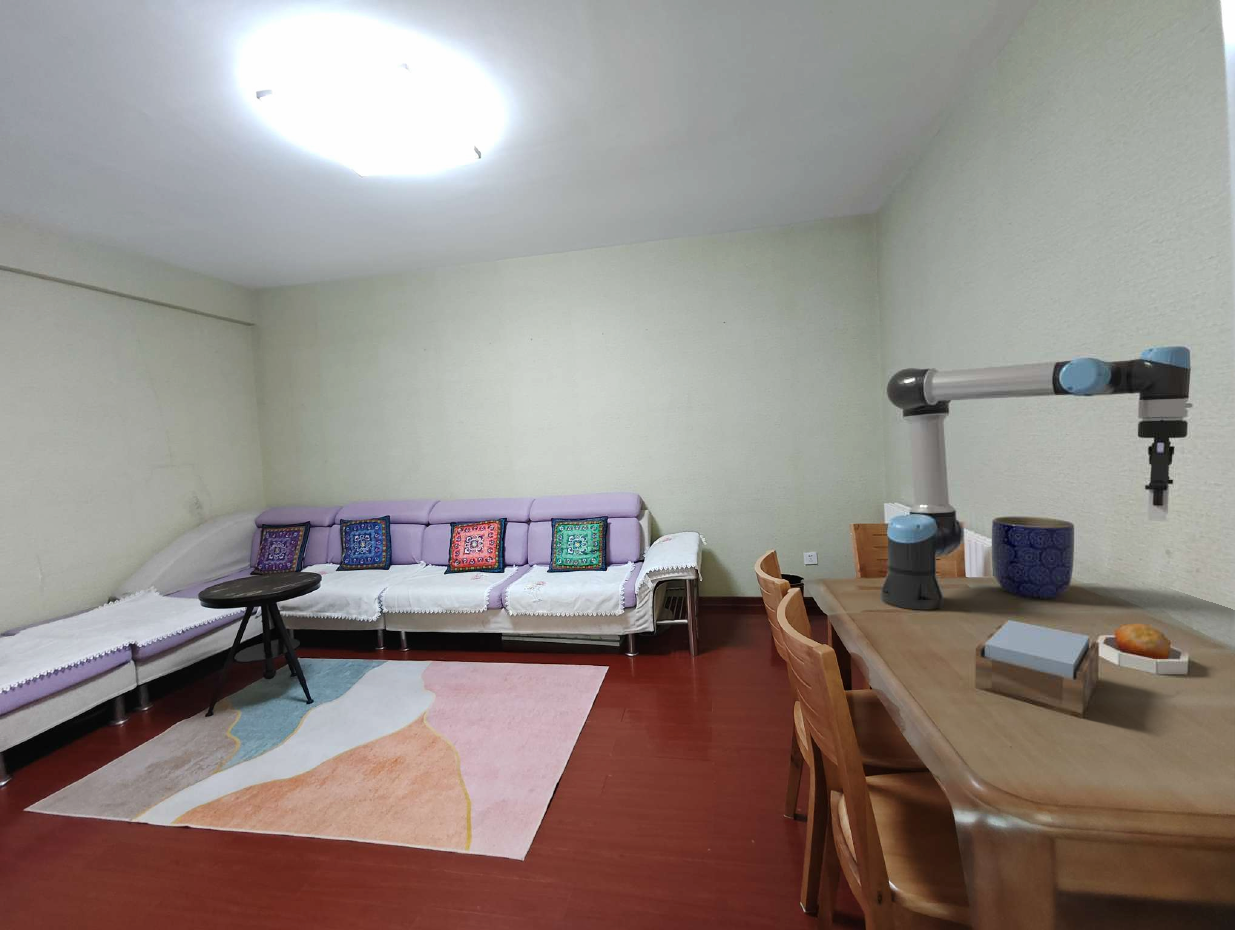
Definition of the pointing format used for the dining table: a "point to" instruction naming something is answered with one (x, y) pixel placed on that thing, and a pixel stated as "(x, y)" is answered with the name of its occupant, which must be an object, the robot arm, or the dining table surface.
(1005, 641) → the lid
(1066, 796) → the dining table surface
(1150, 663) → the fruit ring
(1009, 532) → the planter
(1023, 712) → the dining table surface
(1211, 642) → the dining table surface
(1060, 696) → the box
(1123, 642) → the fruit
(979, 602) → the dining table surface
